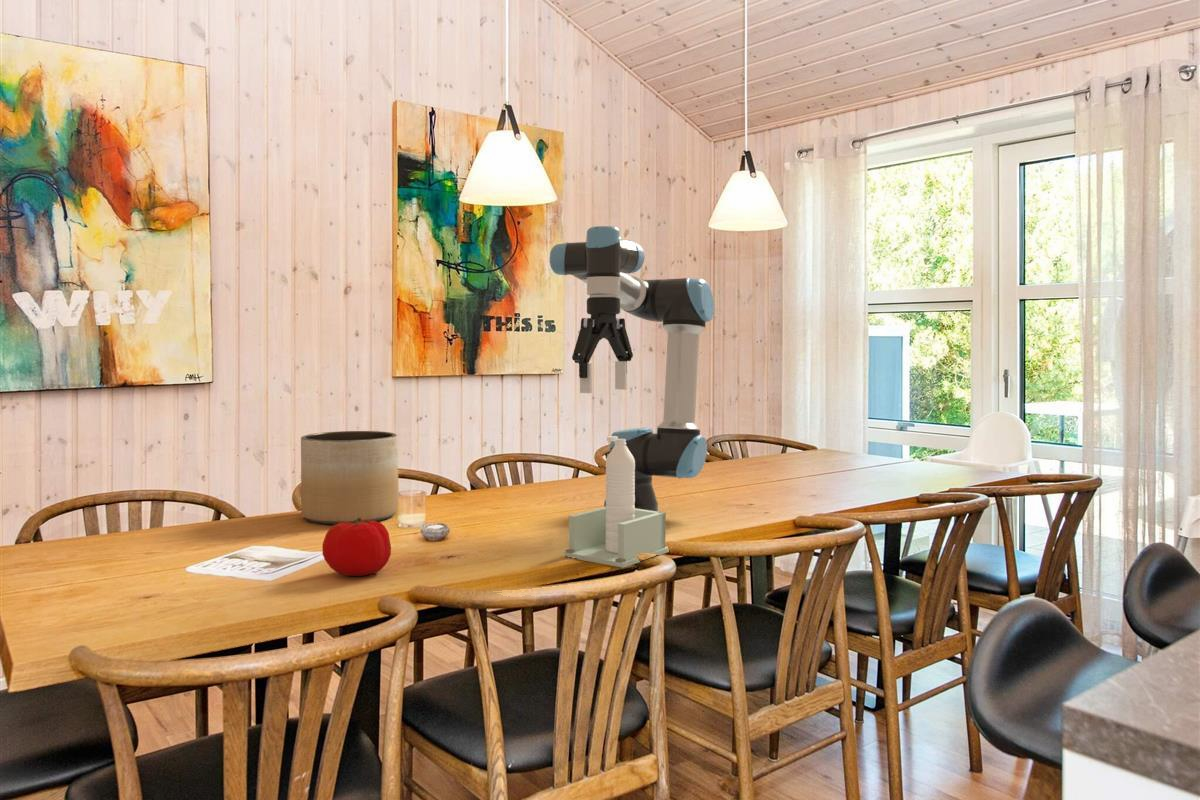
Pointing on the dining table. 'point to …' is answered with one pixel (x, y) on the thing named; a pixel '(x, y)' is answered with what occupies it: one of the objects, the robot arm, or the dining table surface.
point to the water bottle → (619, 490)
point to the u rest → (632, 537)
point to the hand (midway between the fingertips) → (603, 391)
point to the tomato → (357, 547)
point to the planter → (349, 476)
